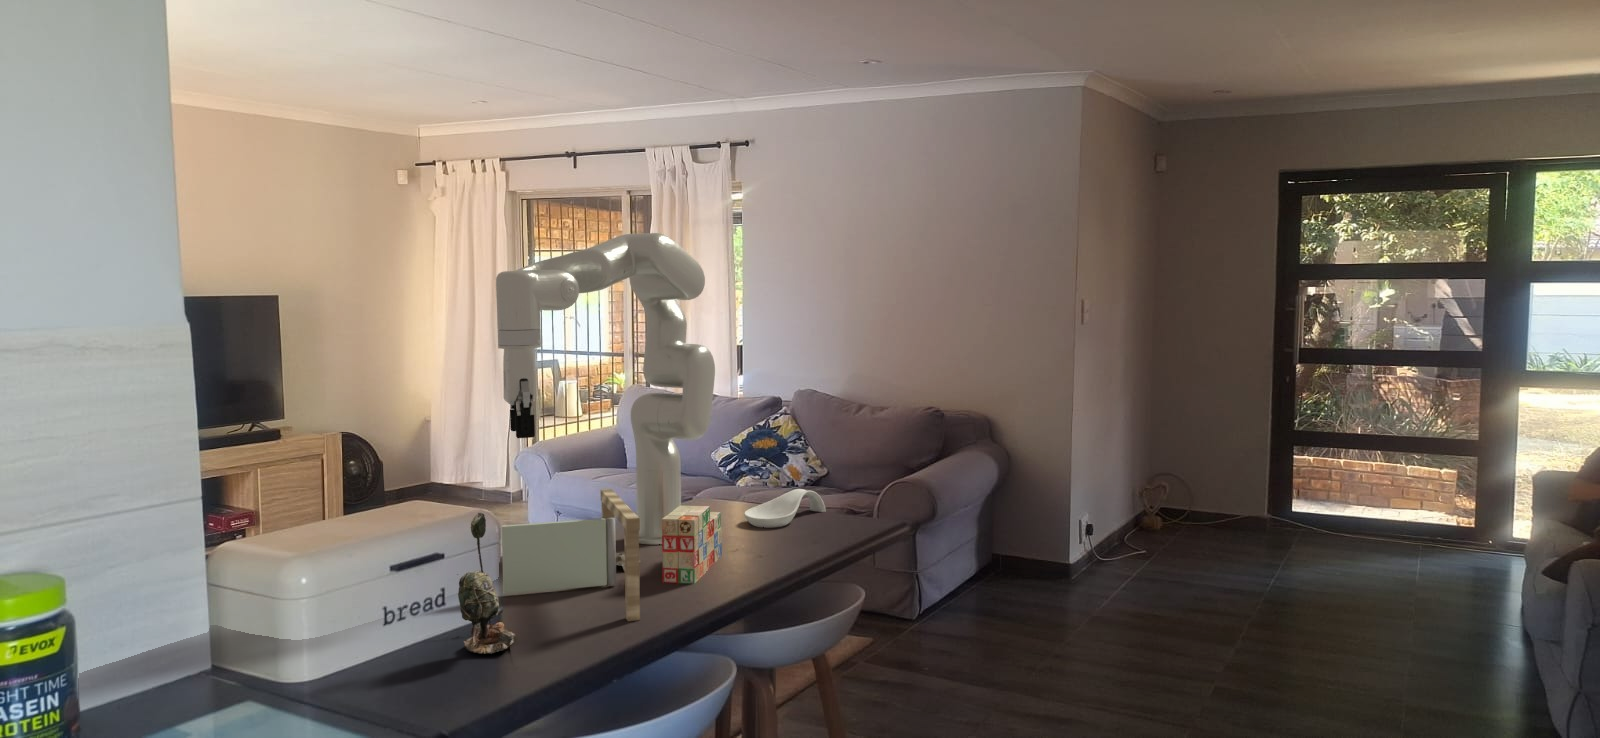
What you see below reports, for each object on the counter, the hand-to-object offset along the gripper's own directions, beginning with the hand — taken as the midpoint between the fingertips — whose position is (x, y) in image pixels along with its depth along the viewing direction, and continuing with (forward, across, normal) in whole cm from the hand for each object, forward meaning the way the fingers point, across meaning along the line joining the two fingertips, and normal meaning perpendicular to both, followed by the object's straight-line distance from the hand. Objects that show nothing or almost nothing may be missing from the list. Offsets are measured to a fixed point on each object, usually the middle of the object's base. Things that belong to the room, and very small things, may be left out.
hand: (522, 434), depth 197 cm
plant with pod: (+28, +34, -10) cm, 45 cm away
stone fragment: (+27, -8, +8) cm, 29 cm away
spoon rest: (+29, -34, +62) cm, 77 cm away
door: (+28, +7, +14) cm, 32 cm away
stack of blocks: (+28, +1, +31) cm, 42 cm away
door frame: (+28, +7, +14) cm, 32 cm away
